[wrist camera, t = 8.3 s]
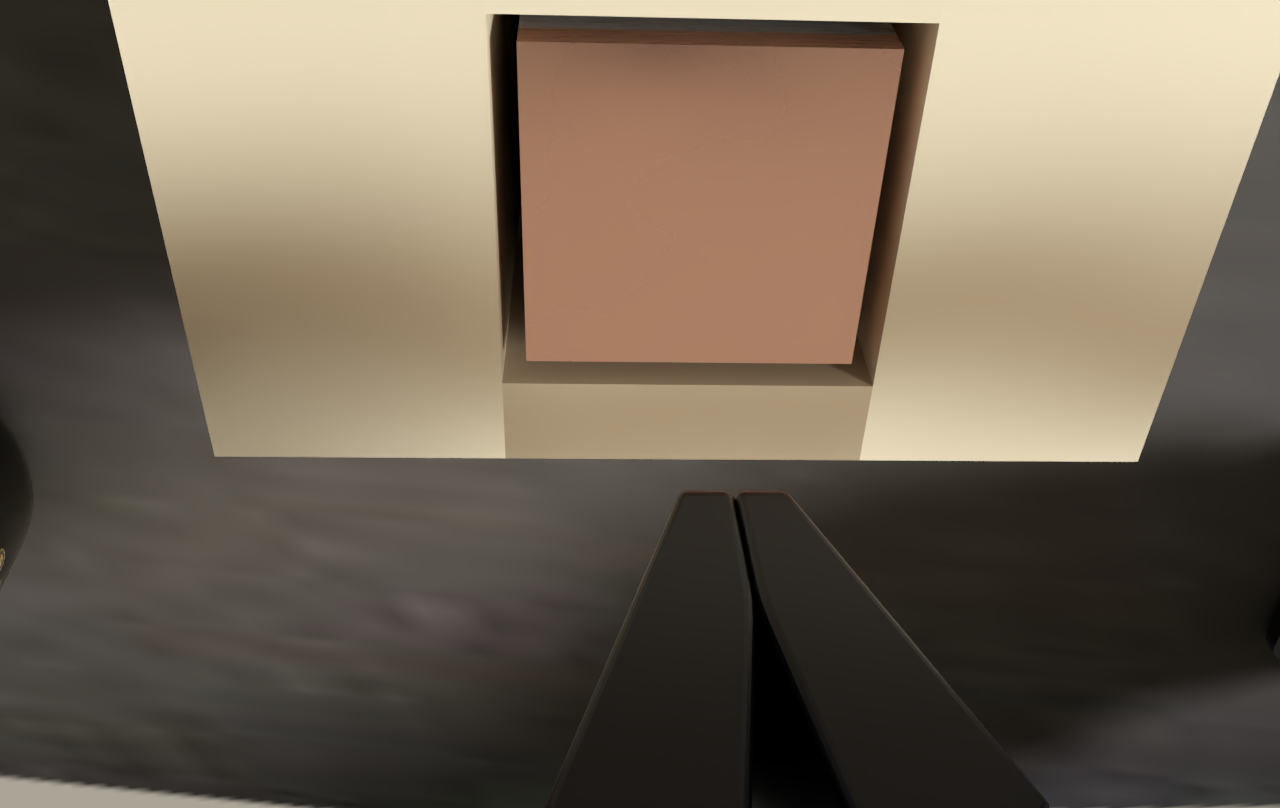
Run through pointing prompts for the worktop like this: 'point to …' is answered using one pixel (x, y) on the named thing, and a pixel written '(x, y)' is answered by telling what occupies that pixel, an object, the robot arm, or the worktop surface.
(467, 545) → the worktop surface
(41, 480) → the worktop surface
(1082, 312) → the socket block
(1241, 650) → the worktop surface
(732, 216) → the peg
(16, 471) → the supplement bottle
